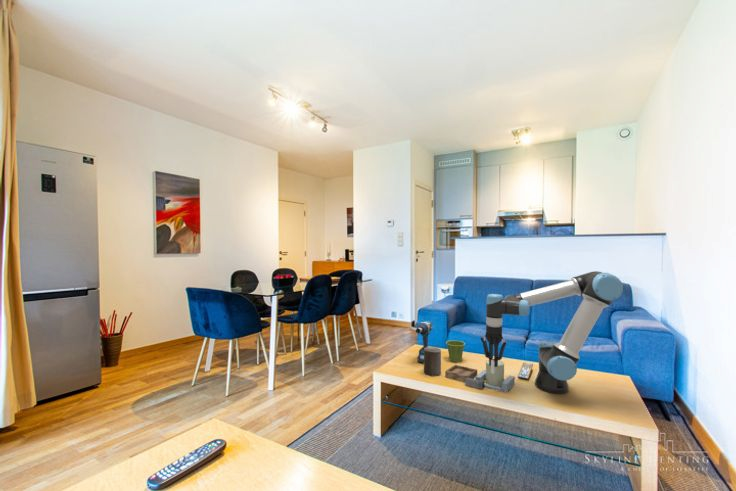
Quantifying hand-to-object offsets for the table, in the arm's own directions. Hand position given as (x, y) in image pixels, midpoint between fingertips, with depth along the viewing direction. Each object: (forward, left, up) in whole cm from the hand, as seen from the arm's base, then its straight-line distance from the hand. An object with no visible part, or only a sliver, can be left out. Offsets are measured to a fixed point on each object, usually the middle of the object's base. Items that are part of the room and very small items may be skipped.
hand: (493, 372), depth 170 cm
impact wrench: (+49, -16, -10) cm, 52 cm away
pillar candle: (+36, -3, -10) cm, 37 cm away
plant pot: (+35, -31, -10) cm, 48 cm away
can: (+3, -10, -10) cm, 14 cm away
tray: (+21, -9, -10) cm, 24 cm away
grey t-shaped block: (+10, 0, -10) cm, 14 cm away
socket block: (+3, -10, -10) cm, 14 cm away
